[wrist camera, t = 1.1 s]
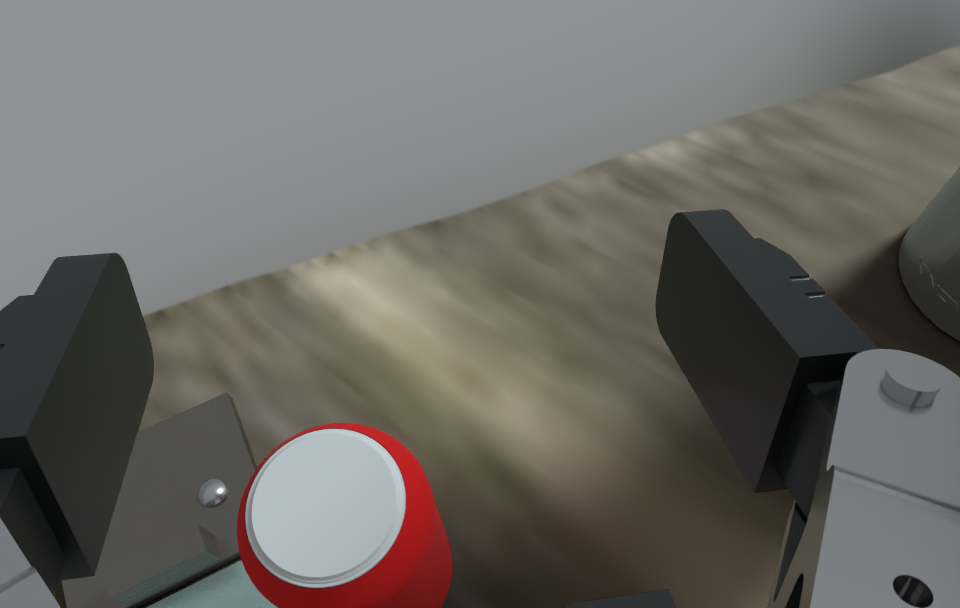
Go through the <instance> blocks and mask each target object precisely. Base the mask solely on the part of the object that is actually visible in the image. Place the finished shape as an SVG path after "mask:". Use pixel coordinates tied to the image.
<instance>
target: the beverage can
mask: <svg viewBox="0 0 960 608" xmlns="http://www.w3.org/2000/svg"><path fill="white" fill-rule="evenodd" d="M237 543H238V548H239V553H240V557H241V560H242V563H243V566H244V568H245V570H246V573H247V574H248V576H249V578H250V580H251V581H252V583H253V584H254V585H255V587H256V588H257V590H258V591H259V592H260V593H261V594H262V595H263V596H264V597H265V598H266V599H267V600H268V601H270V602H271V603H272V604H273V605H275V606H276V607H278V608H441V607H442V605H443V603H444V601H445V599H446V596H447V594H448V591H449V588H450V584H451V579H452V570H453V562H452V553H451V548H450V544H449V541H448V538H447V535H446V532H445V529H444V526H443V523H442V520H441V517H440V514H439V511H438V508H437V505H436V502H435V499H434V496H433V493H432V490H431V487H430V484H429V481H428V479H427V477H426V474H425V472H424V470H423V469H422V467H421V465H420V463H419V462H418V461H417V459H416V458H415V457H414V455H413V454H412V453H411V452H410V451H409V450H408V449H407V448H406V447H405V446H404V445H403V444H401V443H400V442H399V441H398V440H396V439H395V438H393V437H392V436H390V435H388V434H386V433H384V432H382V431H380V430H377V429H375V428H372V427H368V426H365V425H359V424H352V423H334V424H326V425H321V426H317V427H314V428H311V429H308V430H305V431H303V432H300V433H298V434H296V435H295V436H293V437H291V438H289V439H288V440H286V441H285V442H283V443H282V444H280V445H279V446H278V447H277V448H275V449H274V450H273V451H272V452H271V453H270V454H269V455H268V456H267V457H266V458H265V459H264V460H263V461H262V463H261V464H260V465H259V466H258V468H257V469H256V471H255V472H254V473H253V475H252V477H251V479H250V480H249V482H248V484H247V486H246V489H245V491H244V494H243V496H242V499H241V503H240V507H239V511H238V518H237Z"/></svg>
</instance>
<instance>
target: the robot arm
mask: <svg viewBox="0 0 960 608" xmlns="http://www.w3.org/2000/svg"><path fill="white" fill-rule="evenodd" d="M899 269H900V273H901V277H902V281H903V284H904V285H905V287H906V289H907V291H908V293H909V295H910V297H911V299H912V300H913V301H914V303H915V304H916V305H917V307H918V308H919V309H920V310H921V312H922V313H923V314H924V315H925V316H926V317H927V318H928V319H929V320H931V321H932V322H933V323H934V324H935V325H936V326H937V327H938V328H940V329H941V330H943V331H944V332H946V333H947V334H949V335H950V336H952V337H953V338H955V339H956V340H958V341H960V167H959V169H958V170H957V171H956V172H955V173H954V175H953V176H952V177H951V178H950V180H949V181H948V182H947V183H946V184H945V185H944V187H943V188H942V189H941V190H940V191H939V193H938V194H937V195H936V196H935V198H934V199H933V200H932V201H931V202H930V204H929V205H928V206H927V207H926V209H925V210H924V211H923V212H922V213H921V215H920V216H919V217H918V218H917V220H916V221H915V222H914V223H913V224H912V226H911V227H910V228H909V230H908V231H907V233H906V234H905V236H904V237H903V240H902V243H901V246H900V250H899ZM656 318H657V323H658V327H659V330H660V333H661V335H662V337H663V339H664V341H665V342H666V344H667V346H668V347H669V349H670V351H671V352H672V354H673V356H674V357H675V359H676V361H677V363H678V364H679V366H680V368H681V369H682V371H683V373H684V374H685V376H686V378H687V379H688V381H689V383H690V385H691V386H692V388H693V390H694V391H695V393H696V395H697V396H698V398H699V400H700V401H701V403H702V405H703V407H704V408H705V410H706V412H707V413H708V415H709V417H710V418H711V420H712V422H713V423H714V425H715V427H716V429H717V430H718V432H719V434H720V435H721V437H722V439H723V440H724V442H725V444H726V445H727V447H728V449H729V451H730V452H731V454H732V456H733V457H734V459H735V461H736V462H737V464H738V466H739V467H740V469H741V471H742V473H743V474H744V476H745V478H746V479H747V481H748V483H749V484H750V486H751V488H752V489H753V491H754V493H759V492H767V491H775V490H782V489H788V490H789V491H790V493H791V494H792V496H793V497H794V499H795V501H794V503H793V506H792V509H791V511H790V514H789V517H788V521H787V525H786V529H785V533H784V538H783V542H782V546H781V551H780V555H779V559H778V563H777V568H776V572H775V576H774V581H773V585H772V589H771V593H770V598H769V602H768V606H767V608H960V377H958V376H957V375H956V374H954V373H953V372H952V371H950V370H949V369H947V368H946V367H944V366H942V365H940V364H938V363H936V362H934V361H932V360H930V359H927V358H925V357H923V356H919V355H916V354H913V353H909V352H905V351H900V350H893V349H880V348H879V347H878V346H877V345H876V344H875V343H874V342H873V341H872V340H871V339H870V338H869V337H868V336H867V335H866V334H865V333H864V332H863V331H862V330H861V328H860V327H859V326H858V325H857V324H856V323H855V322H854V321H853V320H852V319H851V318H850V317H849V316H848V315H847V314H846V313H845V312H844V311H843V310H842V309H841V308H840V307H839V306H838V305H837V304H836V302H835V301H834V300H833V299H832V298H831V297H830V296H825V291H824V290H823V289H822V288H821V287H820V286H819V285H818V284H817V283H816V282H815V281H814V280H813V279H809V274H808V273H807V272H806V271H805V270H804V269H803V268H802V267H801V266H800V265H799V264H798V263H797V262H796V261H795V260H794V259H793V258H792V257H791V256H790V255H789V254H787V253H786V252H784V251H782V250H780V249H778V248H777V247H775V246H773V245H771V244H770V243H768V242H766V241H764V240H762V239H761V238H756V239H754V238H753V237H752V236H751V235H750V234H749V233H748V232H747V231H746V229H745V228H744V227H743V226H742V225H741V224H740V223H739V222H738V221H737V220H736V219H735V217H734V216H733V215H732V214H731V213H730V212H729V211H727V210H724V209H720V210H707V211H693V212H680V213H676V214H675V215H674V216H673V217H672V219H671V221H670V224H669V227H668V232H667V238H666V244H665V249H664V255H663V260H662V266H661V272H660V277H659V283H658V289H657V294H656ZM153 374H154V360H153V351H152V346H151V342H150V338H149V335H148V332H147V329H146V326H145V322H144V319H143V316H142V313H141V310H140V307H139V304H138V301H137V298H136V295H135V291H134V288H133V285H132V282H131V279H130V276H129V273H128V270H127V267H126V264H125V262H124V261H123V259H122V257H121V256H120V255H119V254H117V253H109V254H96V255H95V254H94V255H81V256H69V257H68V256H67V257H58V258H56V259H55V260H54V262H53V263H52V265H51V267H50V268H49V270H48V272H47V273H46V275H45V277H44V278H43V280H42V282H41V284H40V285H39V287H38V289H37V290H36V292H35V294H34V295H27V296H19V297H17V298H16V299H15V300H14V301H12V302H11V303H10V304H9V305H7V306H6V307H5V308H3V309H2V310H1V311H0V608H61V607H60V606H59V604H58V603H57V601H56V600H55V598H54V597H53V592H54V589H55V586H56V583H57V581H60V580H68V579H76V578H84V577H91V576H95V572H96V569H97V566H98V562H99V559H100V556H101V552H102V549H103V546H104V542H105V539H106V536H107V532H108V529H109V526H110V522H111V519H112V516H113V512H114V509H115V506H116V502H117V499H118V496H119V492H120V489H121V486H122V482H123V479H124V476H125V473H126V469H127V466H128V463H129V459H130V456H131V453H132V449H133V446H134V443H135V439H136V436H137V433H138V429H139V426H140V423H141V419H142V416H143V413H144V409H145V406H146V403H147V399H148V396H149V393H150V389H151V386H152V382H153ZM563 608H676V607H675V604H674V602H673V600H672V597H671V595H670V592H669V590H668V589H666V590H659V591H653V592H646V593H639V594H632V595H625V596H618V597H611V598H605V599H598V600H591V601H584V602H577V603H573V604H571V605H568V606H566V607H563Z"/></svg>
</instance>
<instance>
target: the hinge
mask: <svg viewBox="0 0 960 608" xmlns="http://www.w3.org/2000/svg"><path fill="white" fill-rule="evenodd" d="M256 469H257V466H256V464H255V461H254V458H253V455H252V452H251V450H250V447H249V444H248V441H247V438H246V436H245V433H244V430H243V427H242V425H241V422H240V419H239V416H238V413H237V411H236V408H235V405H234V402H233V399H232V398H231V397H230V396H229V394H228V393H225V394H222V395H220V396H218V397H216V398H213V399H211V400H209V401H207V402H204V403H202V404H200V405H198V406H196V407H193V408H191V409H189V410H187V411H184V412H182V413H180V414H178V415H175V416H173V417H171V418H169V419H166V420H164V421H162V422H160V423H158V424H155V425H153V426H151V427H149V428H146V429H144V430H142V431H140V432H138V433H137V436H136V439H135V443H134V446H133V449H132V453H131V456H130V459H129V463H128V466H127V469H126V473H125V476H124V479H123V482H122V486H121V489H120V492H119V496H118V499H117V502H116V506H115V509H114V512H113V516H112V519H111V522H110V526H109V529H108V532H107V536H106V539H105V542H104V546H103V549H102V552H101V556H100V559H99V562H98V566H97V569H96V572H95V576H91V577H84V578H76V579H68V580H61V581H62V586H63V591H64V595H65V600H66V605H67V608H139V607H141V606H143V605H145V604H147V603H149V602H151V601H153V600H155V599H157V598H159V597H161V596H163V595H165V594H167V593H169V592H171V591H173V590H175V589H177V588H179V587H182V586H184V585H186V584H188V583H190V582H192V581H194V580H196V579H198V578H200V577H202V576H204V575H206V574H208V573H210V572H212V571H214V570H216V569H218V568H220V567H222V566H224V565H226V564H228V563H230V562H232V561H234V560H236V559H238V558H240V553H239V548H238V543H237V518H238V511H239V507H240V503H241V499H242V496H243V494H244V491H245V489H246V486H247V484H248V482H249V480H250V479H251V477H252V475H253V473H254V472H255V471H256ZM146 608H278V607H276V606H275V605H273V604H272V603H271V602H270V601H268V600H267V599H266V598H265V597H264V596H263V595H262V594H261V593H260V592H259V591H258V590H257V588H256V587H255V585H254V584H253V583H252V581H251V580H250V578H249V576H248V574H247V573H246V570H245V568H244V566H243V563H242V560H241V561H239V562H237V563H235V564H233V565H231V566H229V567H227V568H225V569H223V570H221V571H219V572H217V573H215V574H212V575H210V576H208V577H206V578H204V579H202V580H200V581H198V582H196V583H194V584H192V585H190V586H188V587H186V588H184V589H182V590H180V591H178V592H176V593H174V594H172V595H170V596H168V597H166V598H164V599H162V600H160V601H158V602H156V603H154V604H152V605H150V606H148V607H146Z"/></svg>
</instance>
